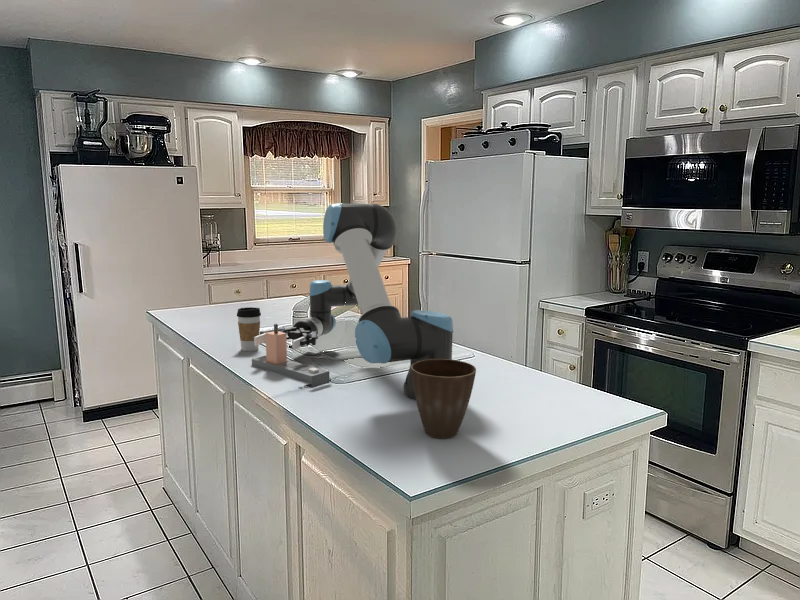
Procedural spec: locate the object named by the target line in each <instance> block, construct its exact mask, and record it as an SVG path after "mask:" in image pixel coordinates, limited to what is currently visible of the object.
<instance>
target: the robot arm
mask: <svg viewBox="0 0 800 600" xmlns="http://www.w3.org/2000/svg"><path fill="white" fill-rule="evenodd" d="M322 229H323V230H322V233H323V239H324V241H325V242H326V243H328V244H331V243H333V247H334V249H335V250H336V251H337V253H339V254H341V255H342V257H343V260H344V263H345V267H346V270H347V274H348V276H349V279H348V282H347V284H339V285H338V284H337V285H335V284H334V285H332V281H331V280H327V279H323V280H322V279H318V280H317V279H316V280H312V281H311V282H310V284H309V293H308V294H309V317H306V318H304V319H302V320H299V321H297V322H296V323H295V324H294V325H293V327H291V328H285V327H280V328H279V327H278V331H279V332H283V333H286V339H287V340H292V341H291V343H292V345H291V346H292V350H293V351H294V350H298V349H300V348H302V347H305V346H310V344H311V345H312V346H316V345H317V340H318V339H319V337H322V336H325V335H327V334H329V333H330V332H332V331H333V330H334V328H336V324H337V322H336V321H337V320H336V318H335V316H334V314H333V313H332V307H333V308H334V307H335V308H336V307H347V306H358V308H359V311H360V314H361V315H360V317H359V318H358V323H357V324H356V326H355V329H354V336H355V344H356V347H357V350H358V352H359V355H360V356H361V357H362V359H363V360H364V361H366V362H367V363H370V364H387V363H394V362H403V361H404V362H405V361H410V365H409V369H408V371H407V375H406V378H405V379H404V380H405V381H404V383H403V394H404V395H405V396H406V397H408V398H411V399H413V400H414V399H415V400H416V397H415V392H414V386H413V378H412V369H411V366H412V364H414V363H416V362H418V361H422V360H429V359H450V360H453V337H454V335H453V333H454V323H453V318H452V317H451V316H450V315H448V314H447V313H442V312H437V311H433V310H432V311H431V310H424V309H423V310H421V309H415V310H412V311H411V313H410V316H408V317H402V316H401V313H400V310H399V309H398V307H396V306H395V305H392V304H391V301H390V299H389V296H388V292H387V290H386V287H385V285H384V281H383V278H382V275H381V273H380V271H379V267H380V265H381V263H382V260H383V259H384V257H385V255H386V252H387V251H388V250H390V249H391V248H392V247H393V245H394V244H395V241H396V239H397V233H398V231H397V230H398V229H397V222H396V218H395V217H394V216H393V214H392V213H391V211H389V209H387V207H385V206H383V205H381V204H378V203H343V202H340V203H331V204H330V205H328V206H327V208H326V209H325V213H324V218H323V225H322ZM353 297H354V298H353ZM345 302H346V303H345ZM356 304H358V305H356ZM344 305H345V306H344ZM332 314H333V315H332ZM273 331H274V328H273V329H268V330H267V329H266V330H260V331H259V335H258V336H256V337H254V345H255V346H257V345H258V346H259V345H262V344H266V333H268V332H273Z"/></svg>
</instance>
